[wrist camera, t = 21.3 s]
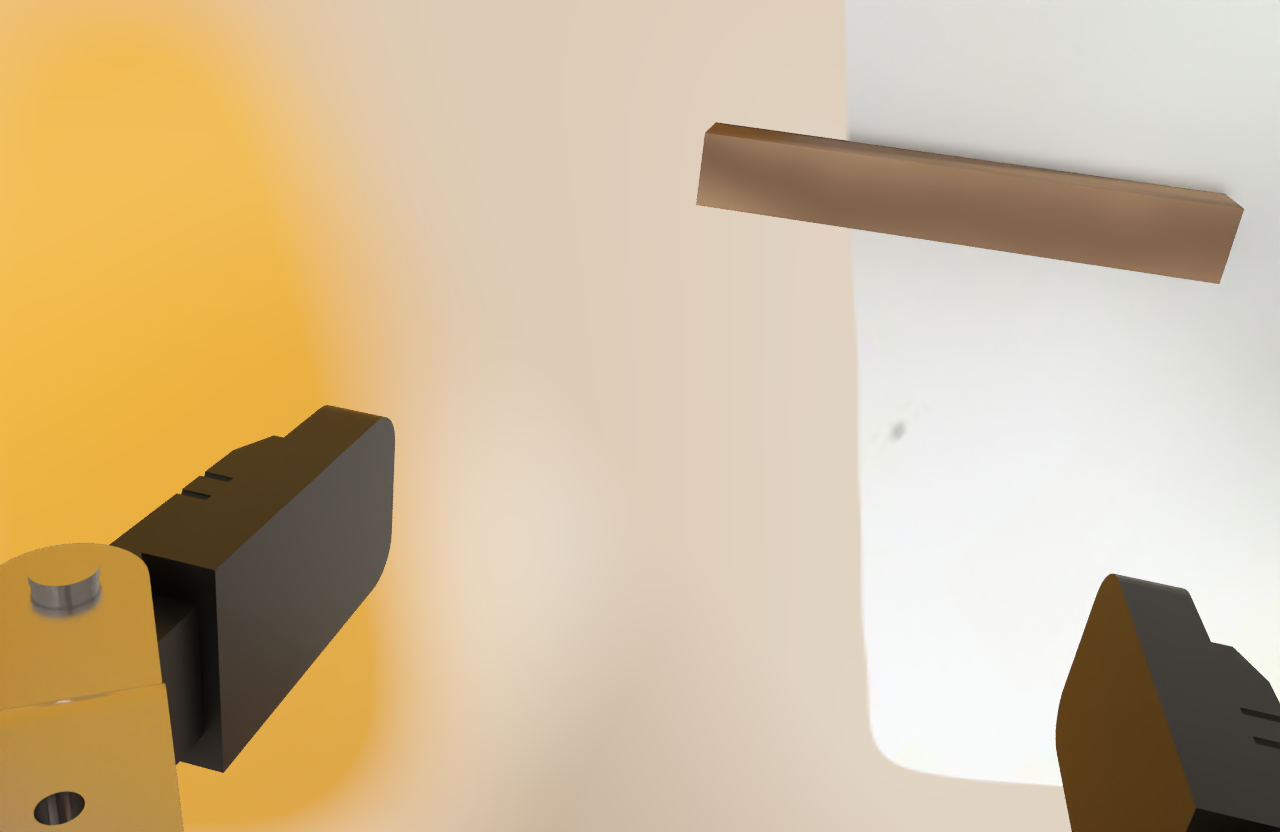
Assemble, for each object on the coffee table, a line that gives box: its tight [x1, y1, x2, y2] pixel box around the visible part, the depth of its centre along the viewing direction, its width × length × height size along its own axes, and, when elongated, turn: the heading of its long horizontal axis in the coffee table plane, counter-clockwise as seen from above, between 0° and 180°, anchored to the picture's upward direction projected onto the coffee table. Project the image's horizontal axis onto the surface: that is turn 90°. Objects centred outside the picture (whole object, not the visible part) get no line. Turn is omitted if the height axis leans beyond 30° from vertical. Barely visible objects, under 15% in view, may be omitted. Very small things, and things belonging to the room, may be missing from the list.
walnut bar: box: [696, 122, 1244, 284], centre depth 46 cm, size 3×21×3 cm, turn 84°
